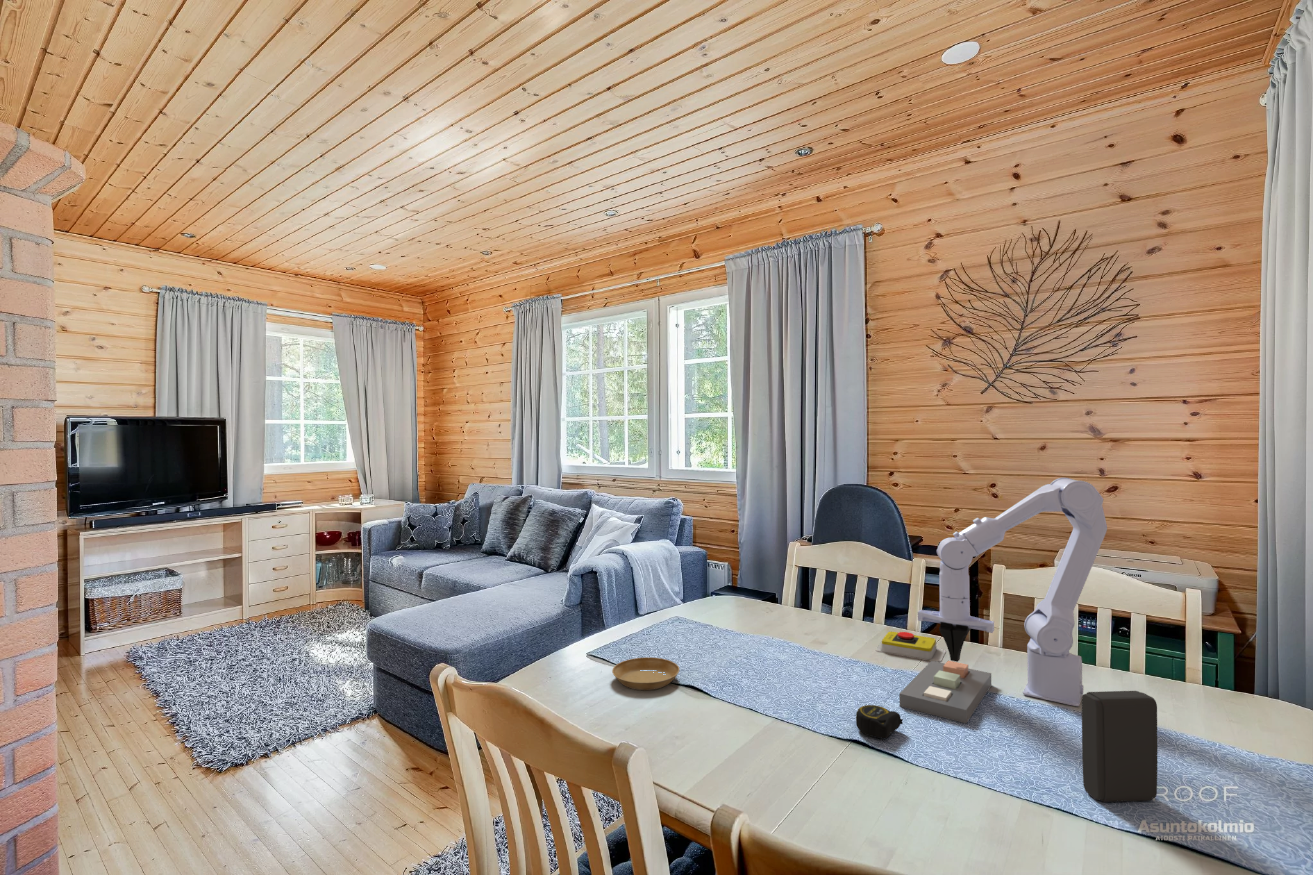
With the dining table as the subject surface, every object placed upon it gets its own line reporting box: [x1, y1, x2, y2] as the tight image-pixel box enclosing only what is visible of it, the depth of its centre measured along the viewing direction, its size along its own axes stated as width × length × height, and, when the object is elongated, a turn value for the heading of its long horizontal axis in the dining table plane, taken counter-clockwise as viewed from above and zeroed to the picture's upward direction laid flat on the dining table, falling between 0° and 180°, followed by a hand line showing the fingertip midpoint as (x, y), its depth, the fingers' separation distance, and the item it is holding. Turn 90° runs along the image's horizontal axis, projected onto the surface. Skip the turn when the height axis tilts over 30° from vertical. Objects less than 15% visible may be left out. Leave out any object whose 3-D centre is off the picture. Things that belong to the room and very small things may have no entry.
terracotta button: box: [943, 660, 969, 678], centre depth 132 cm, size 4×4×2 cm
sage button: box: [934, 670, 960, 689], centre depth 126 cm, size 4×4×2 cm
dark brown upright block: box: [1081, 690, 1158, 803], centre depth 91 cm, size 9×4×15 cm, turn 92°
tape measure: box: [855, 704, 904, 739], centre depth 111 cm, size 7×7×4 cm
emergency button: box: [874, 631, 947, 663], centre depth 152 cm, size 9×4×15 cm
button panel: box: [898, 661, 992, 724], centre depth 126 cm, size 12×22×2 cm, turn 141°
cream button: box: [924, 686, 951, 701], centre depth 121 cm, size 4×4×2 cm
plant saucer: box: [611, 657, 680, 691], centre depth 136 cm, size 15×15×3 cm
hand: (955, 659), depth 131 cm, fingers closed
